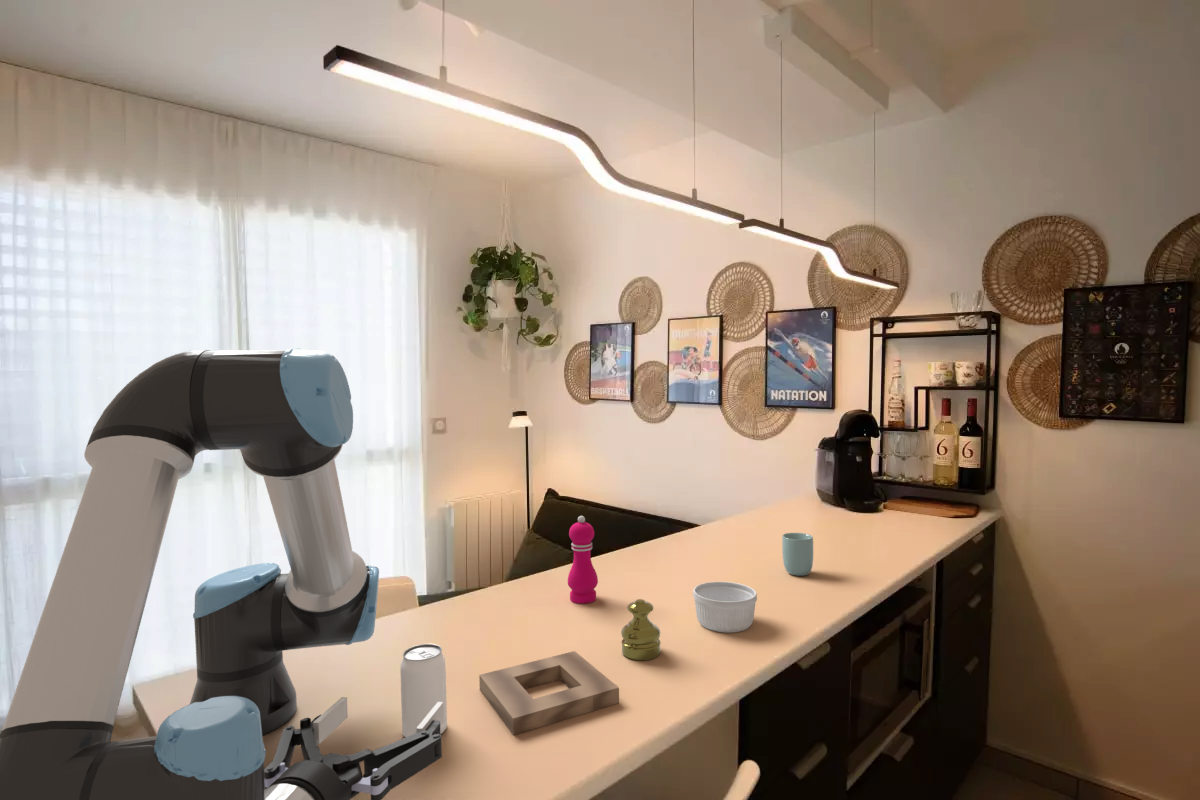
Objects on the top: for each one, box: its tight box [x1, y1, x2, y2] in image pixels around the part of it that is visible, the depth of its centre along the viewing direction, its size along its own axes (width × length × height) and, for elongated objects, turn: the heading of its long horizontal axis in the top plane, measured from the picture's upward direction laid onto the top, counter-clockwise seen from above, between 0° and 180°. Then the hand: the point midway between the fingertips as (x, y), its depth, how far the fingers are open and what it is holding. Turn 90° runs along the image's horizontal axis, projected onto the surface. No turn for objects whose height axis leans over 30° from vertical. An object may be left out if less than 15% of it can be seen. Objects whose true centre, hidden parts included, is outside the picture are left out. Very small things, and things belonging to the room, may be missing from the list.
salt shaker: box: [620, 598, 662, 661], centre depth 119 cm, size 7×7×10 cm
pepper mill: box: [567, 515, 599, 605], centre depth 149 cm, size 7×7×20 cm
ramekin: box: [692, 581, 758, 634], centre depth 132 cm, size 13×13×7 cm
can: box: [399, 643, 448, 738], centre depth 93 cm, size 6×6×12 cm
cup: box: [781, 532, 814, 577], centre depth 165 cm, size 8×8×10 cm
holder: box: [478, 650, 620, 736], centre depth 103 cm, size 18×16×2 cm
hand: (392, 709), depth 83 cm, fingers open, 13 cm apart
